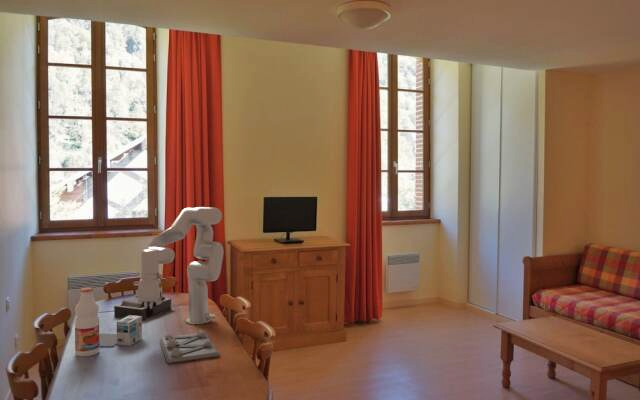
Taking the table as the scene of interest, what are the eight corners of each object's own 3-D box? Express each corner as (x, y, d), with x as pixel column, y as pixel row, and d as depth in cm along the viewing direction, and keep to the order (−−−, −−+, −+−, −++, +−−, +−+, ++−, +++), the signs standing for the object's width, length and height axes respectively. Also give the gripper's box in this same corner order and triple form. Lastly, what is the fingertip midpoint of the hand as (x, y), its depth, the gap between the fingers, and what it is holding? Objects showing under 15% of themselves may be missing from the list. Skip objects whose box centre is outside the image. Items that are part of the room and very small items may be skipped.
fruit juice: (86, 348, 213) (86, 285, 212) (104, 350, 210) (103, 287, 209) (70, 355, 204) (69, 290, 203) (88, 358, 201) (87, 291, 200)
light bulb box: (129, 346, 216) (129, 322, 216) (116, 345, 217) (115, 321, 217) (142, 338, 227) (142, 315, 226) (129, 337, 228) (129, 314, 227)
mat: (129, 335, 230) (129, 334, 230) (112, 347, 214) (112, 346, 214) (100, 334, 231) (100, 333, 231) (82, 346, 215) (82, 345, 215)
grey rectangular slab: (220, 358, 204) (220, 341, 204) (167, 366, 195) (167, 349, 195) (206, 336, 232) (206, 321, 231) (159, 342, 223) (159, 327, 222)
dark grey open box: (177, 311, 273) (177, 294, 273) (136, 323, 250) (136, 304, 250) (150, 304, 286) (149, 288, 285) (108, 315, 263) (108, 298, 262)
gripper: (169, 275, 223) (168, 315, 224) (137, 274, 224) (137, 313, 225) (162, 278, 216) (162, 319, 216) (130, 277, 217) (129, 318, 217)
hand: (149, 316), depth 220 cm, fingers closed
